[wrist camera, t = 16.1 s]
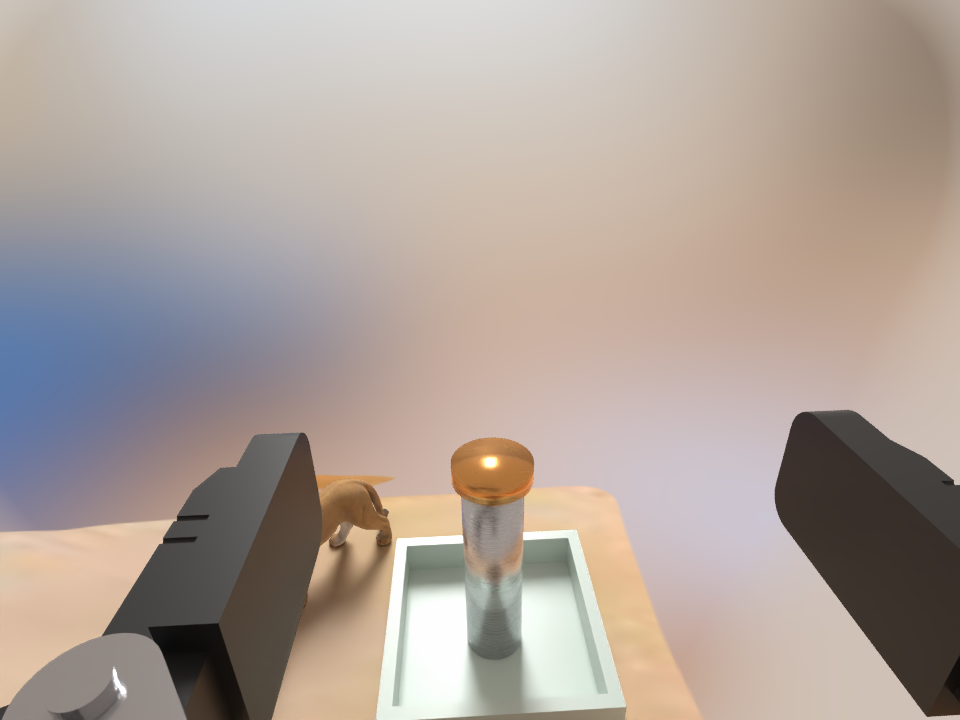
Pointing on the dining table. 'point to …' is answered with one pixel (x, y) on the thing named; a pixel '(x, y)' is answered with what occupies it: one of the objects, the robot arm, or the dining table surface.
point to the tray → (510, 681)
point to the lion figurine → (352, 512)
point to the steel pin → (493, 540)
